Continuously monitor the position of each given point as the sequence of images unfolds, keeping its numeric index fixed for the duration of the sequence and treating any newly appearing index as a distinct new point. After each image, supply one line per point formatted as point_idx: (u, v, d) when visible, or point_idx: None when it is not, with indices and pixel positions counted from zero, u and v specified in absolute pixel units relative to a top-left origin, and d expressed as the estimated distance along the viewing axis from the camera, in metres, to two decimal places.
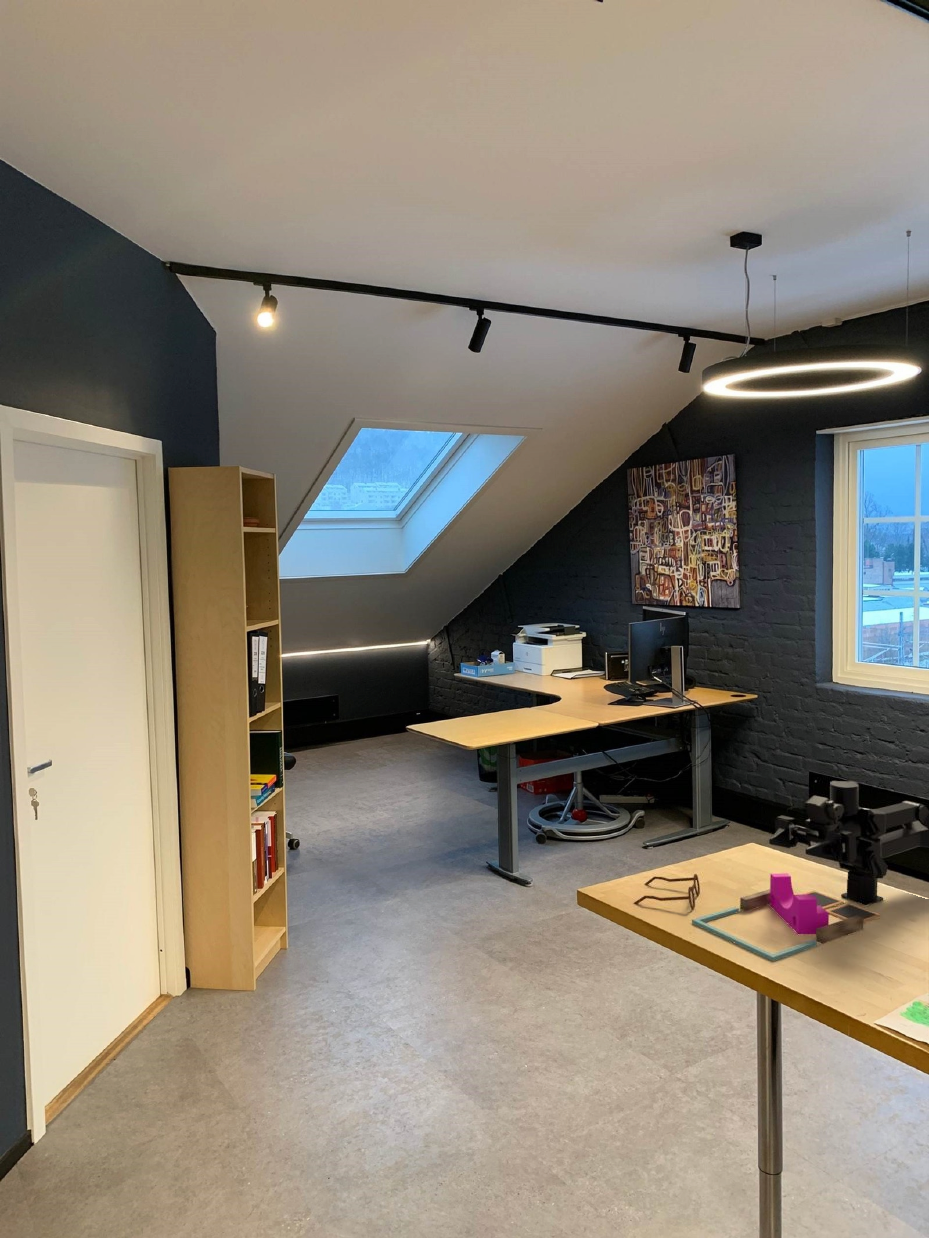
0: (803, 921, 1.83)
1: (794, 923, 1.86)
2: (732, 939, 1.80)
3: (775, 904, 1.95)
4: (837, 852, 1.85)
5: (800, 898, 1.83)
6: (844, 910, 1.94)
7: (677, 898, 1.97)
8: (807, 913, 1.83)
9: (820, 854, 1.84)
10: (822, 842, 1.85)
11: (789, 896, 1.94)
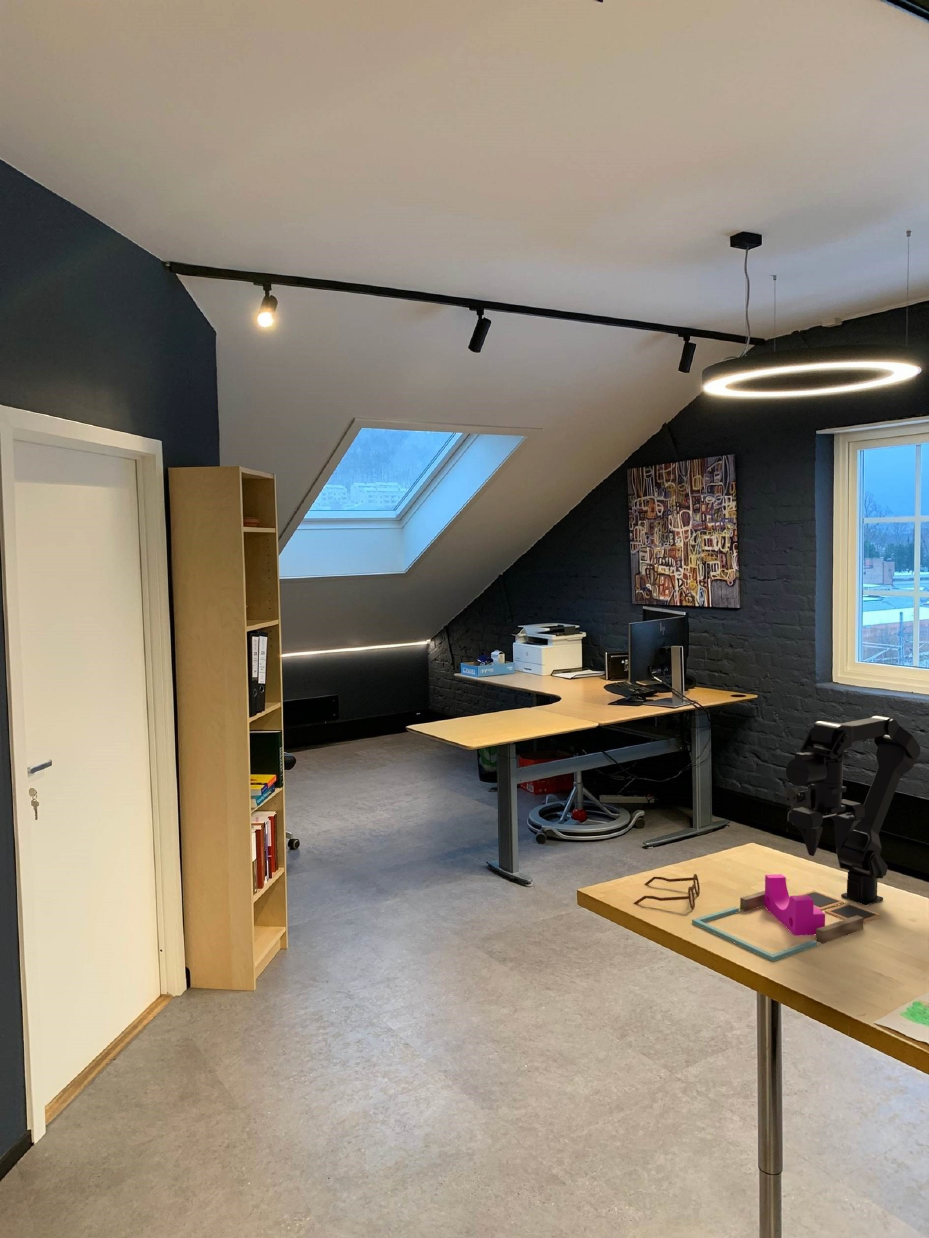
0: (799, 922, 1.83)
1: (790, 924, 1.85)
2: (732, 939, 1.80)
3: (770, 905, 1.95)
4: None
5: (797, 899, 1.83)
6: (844, 910, 1.94)
7: (677, 898, 1.97)
8: (804, 914, 1.83)
9: (812, 843, 1.90)
10: None
11: (784, 897, 1.93)
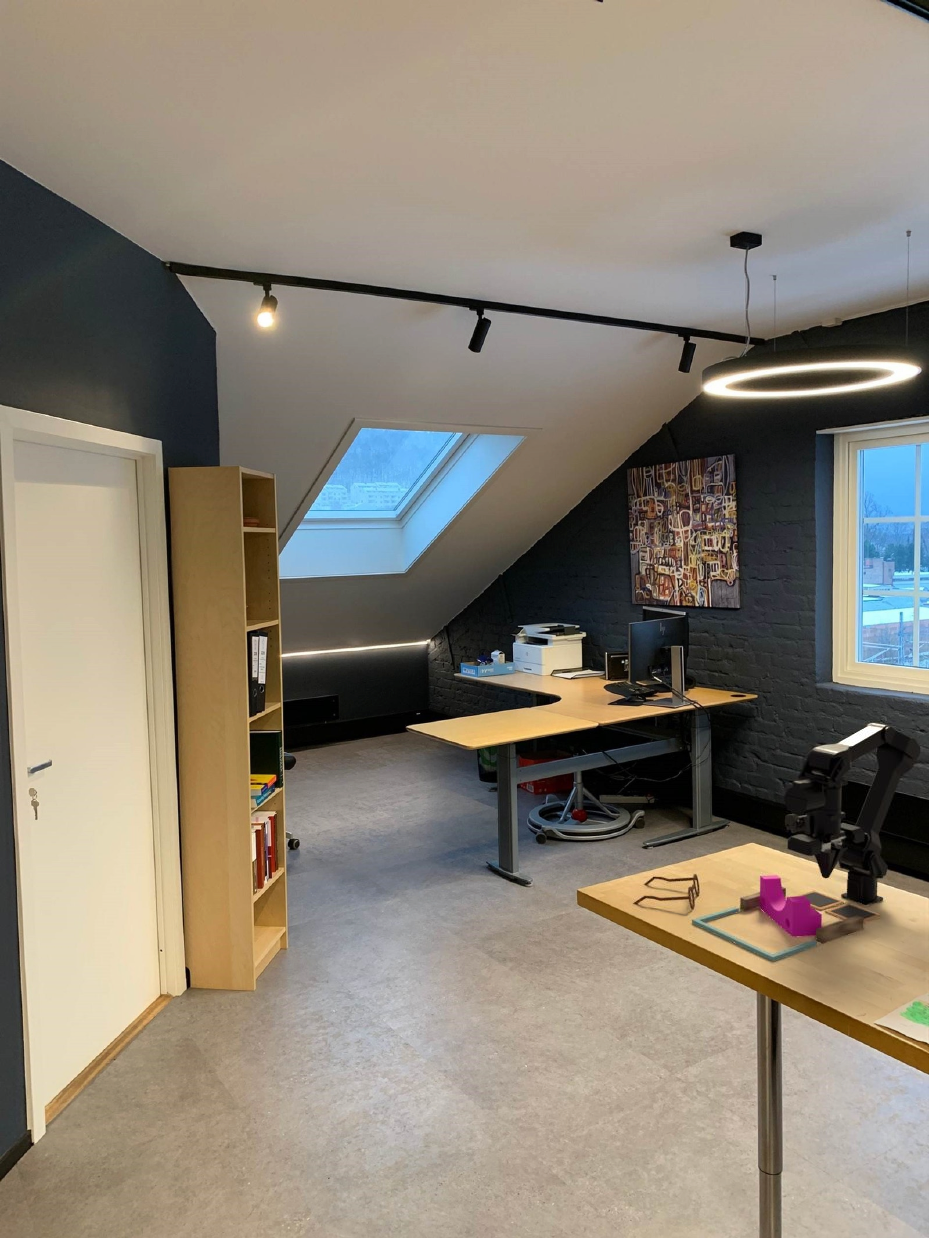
0: (796, 923, 1.82)
1: (787, 925, 1.85)
2: (732, 939, 1.80)
3: (765, 906, 1.94)
4: None
5: (793, 900, 1.82)
6: (844, 910, 1.94)
7: (677, 898, 1.97)
8: (801, 915, 1.82)
9: (825, 866, 1.93)
10: None
11: (780, 898, 1.93)
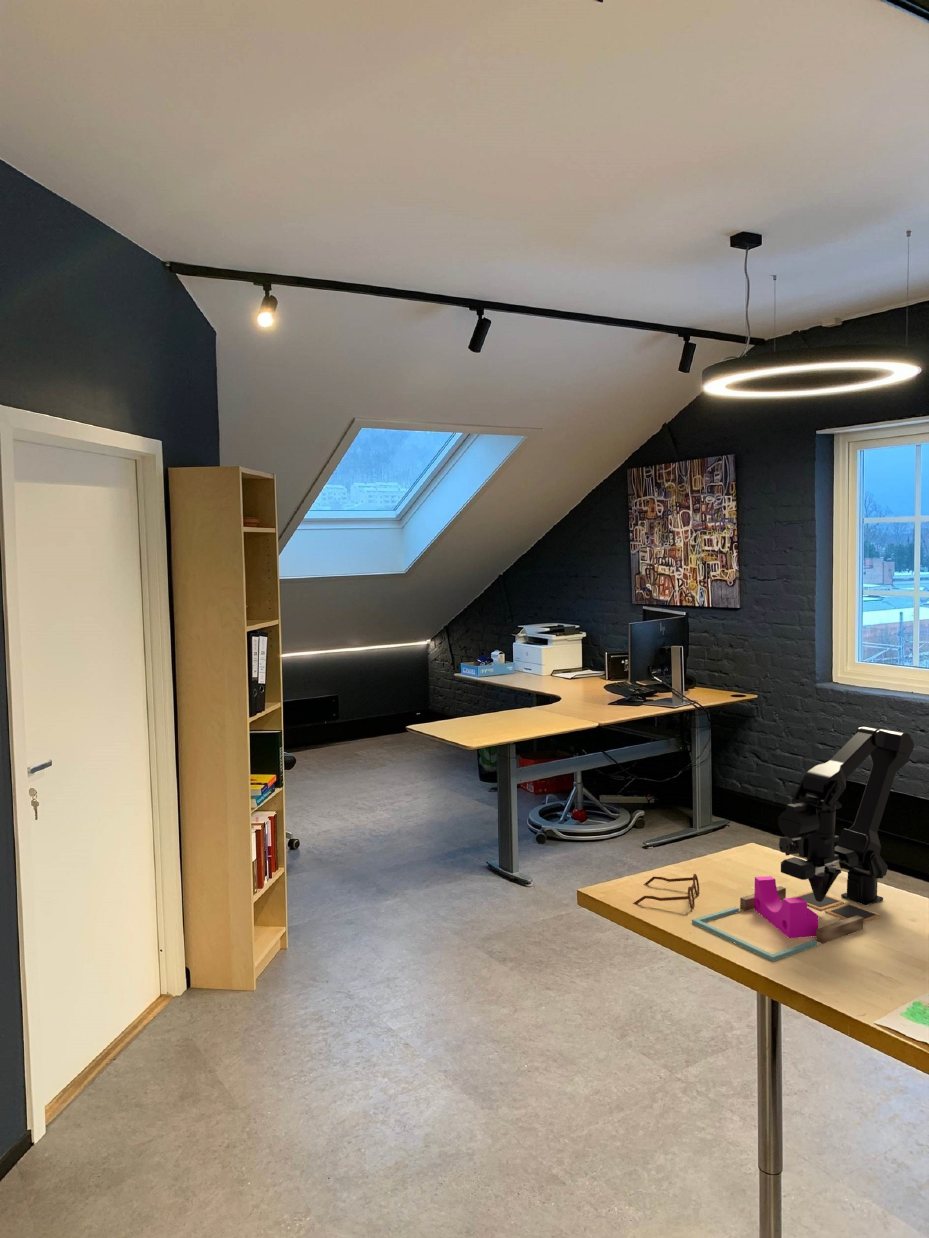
0: (793, 925, 1.81)
1: (784, 927, 1.84)
2: (732, 939, 1.80)
3: (760, 907, 1.93)
4: None
5: (791, 901, 1.82)
6: (844, 910, 1.94)
7: (677, 898, 1.97)
8: (798, 916, 1.81)
9: (819, 889, 1.92)
10: None
11: (775, 899, 1.92)
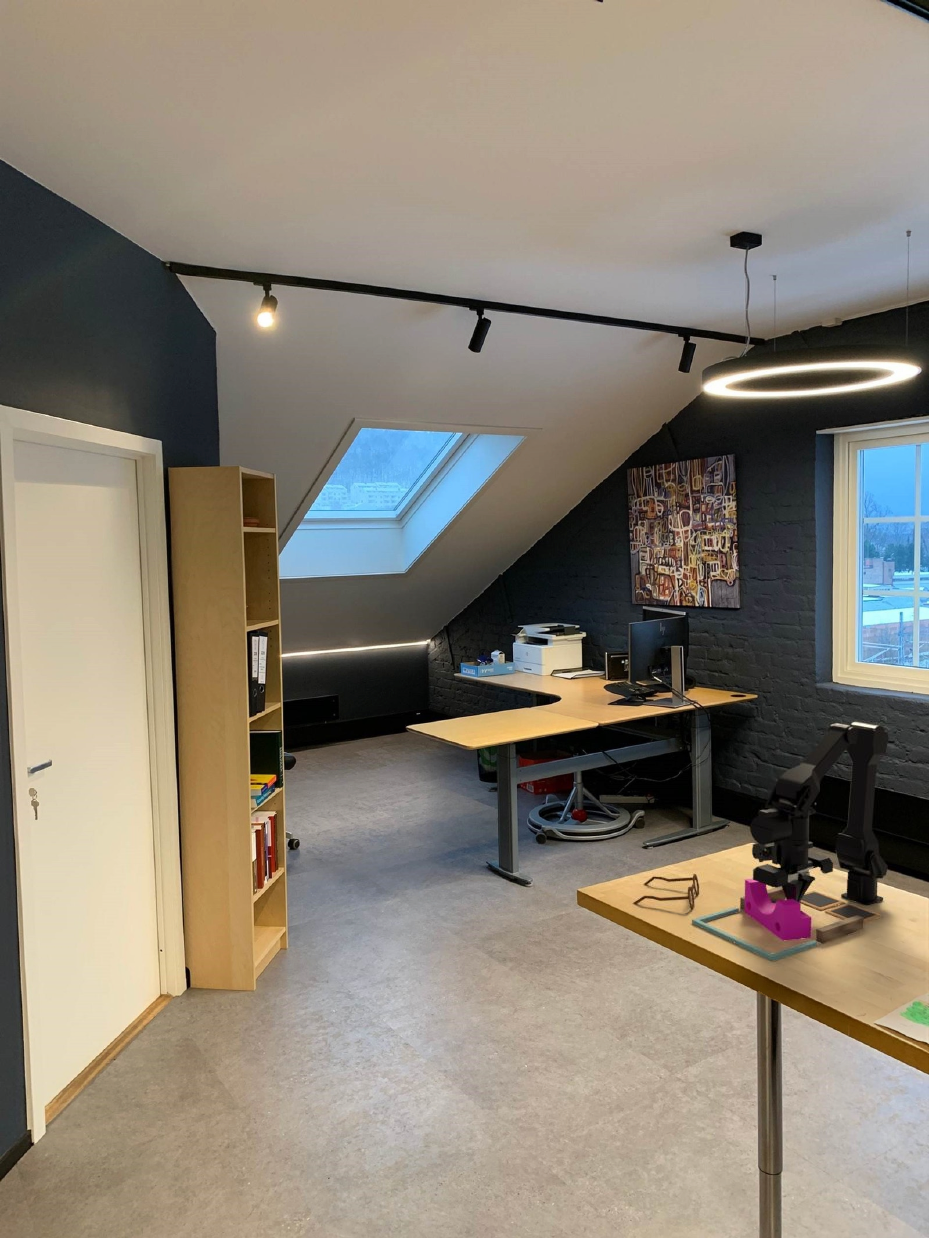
0: (787, 927, 1.80)
1: (777, 929, 1.83)
2: (732, 939, 1.80)
3: (751, 910, 1.92)
4: None
5: (784, 904, 1.80)
6: (844, 910, 1.94)
7: (677, 898, 1.97)
8: (792, 918, 1.80)
9: (792, 897, 1.88)
10: None
11: (766, 901, 1.91)
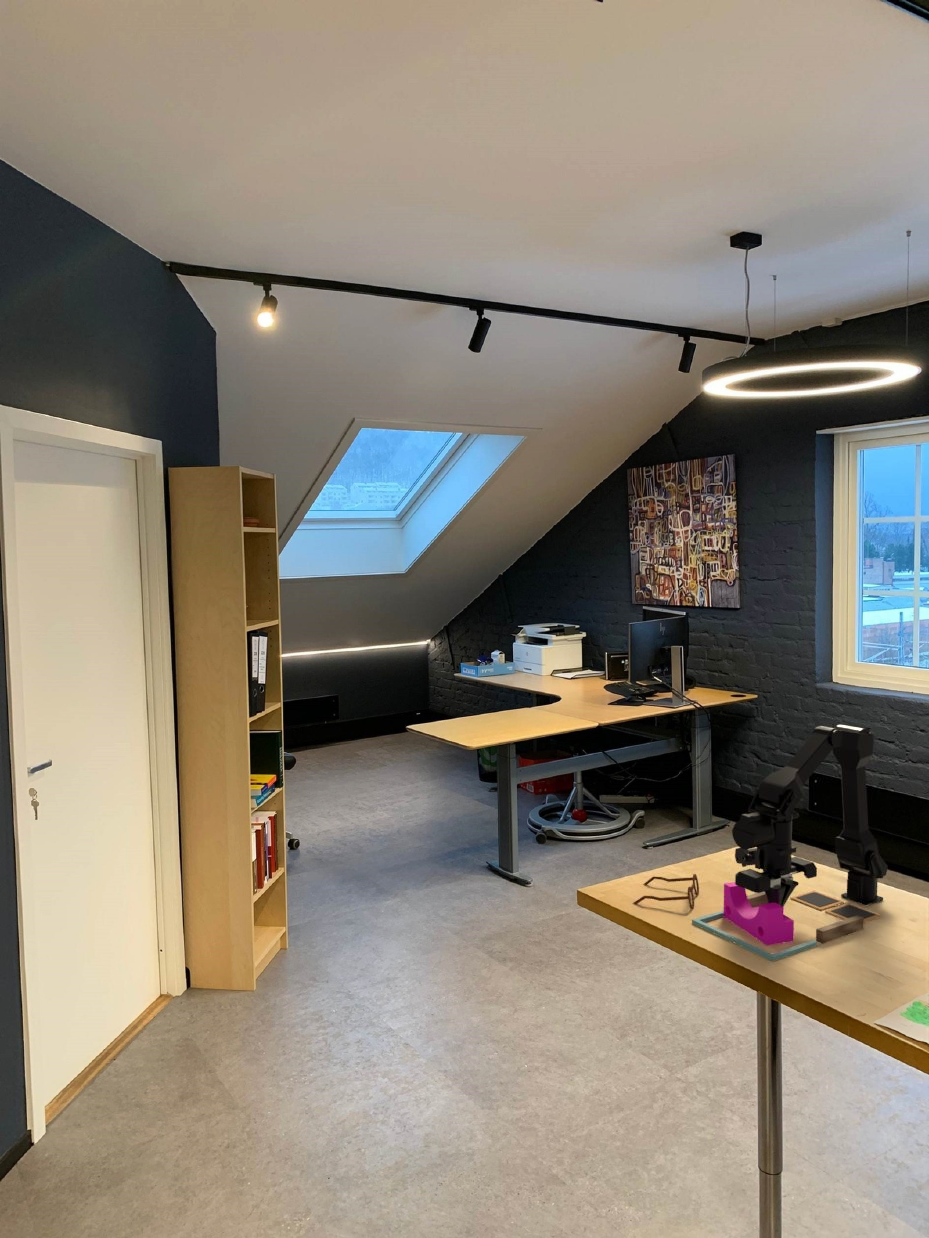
0: (771, 931, 1.78)
1: (760, 934, 1.81)
2: (732, 939, 1.80)
3: (731, 914, 1.90)
4: None
5: (768, 908, 1.78)
6: (844, 910, 1.94)
7: (676, 898, 1.97)
8: (775, 922, 1.78)
9: (775, 902, 1.85)
10: None
11: (746, 905, 1.89)
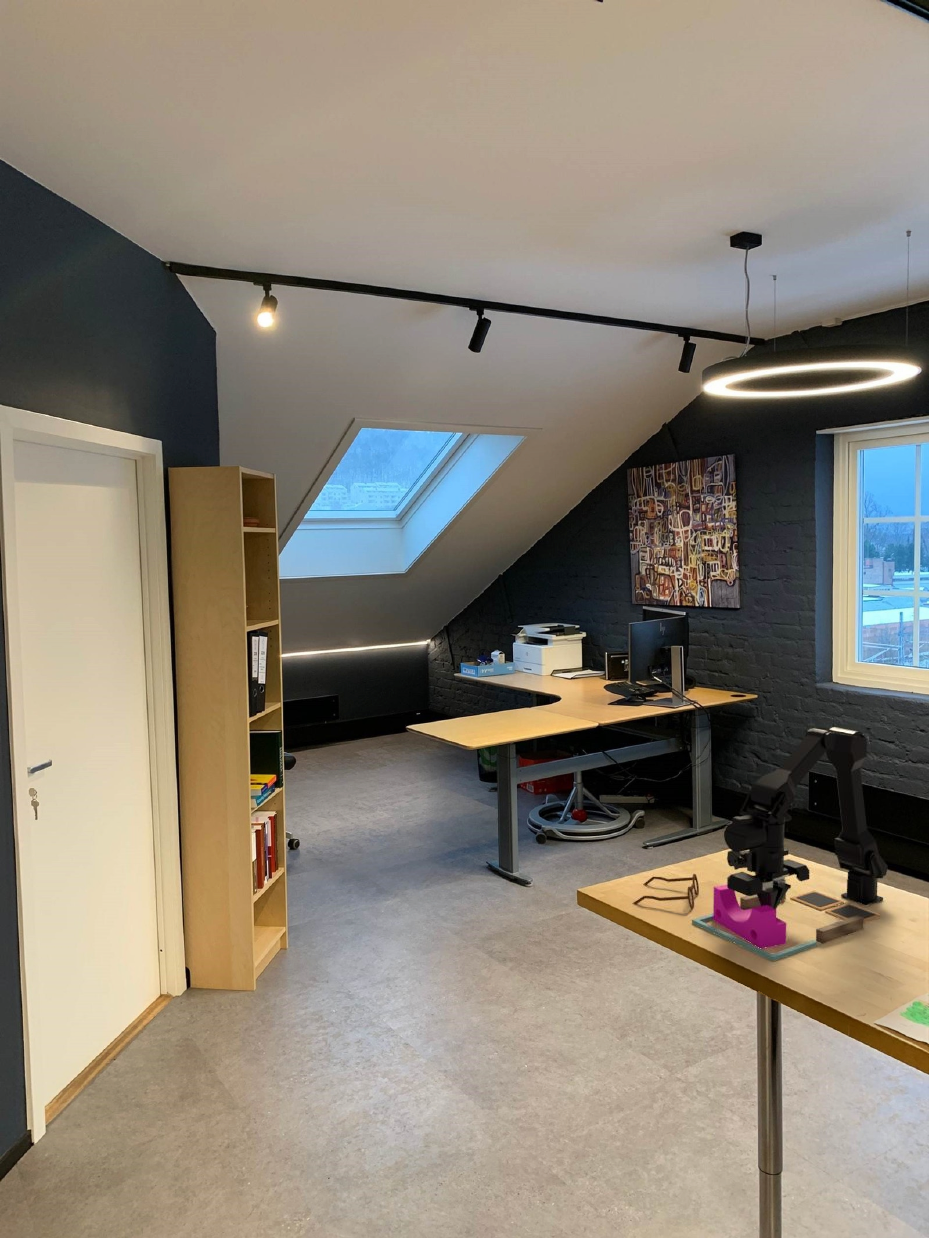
0: (764, 934, 1.77)
1: (752, 937, 1.79)
2: (732, 939, 1.80)
3: (721, 918, 1.88)
4: None
5: (761, 911, 1.77)
6: (844, 910, 1.94)
7: (676, 898, 1.97)
8: (768, 925, 1.77)
9: None
10: None
11: (736, 908, 1.88)
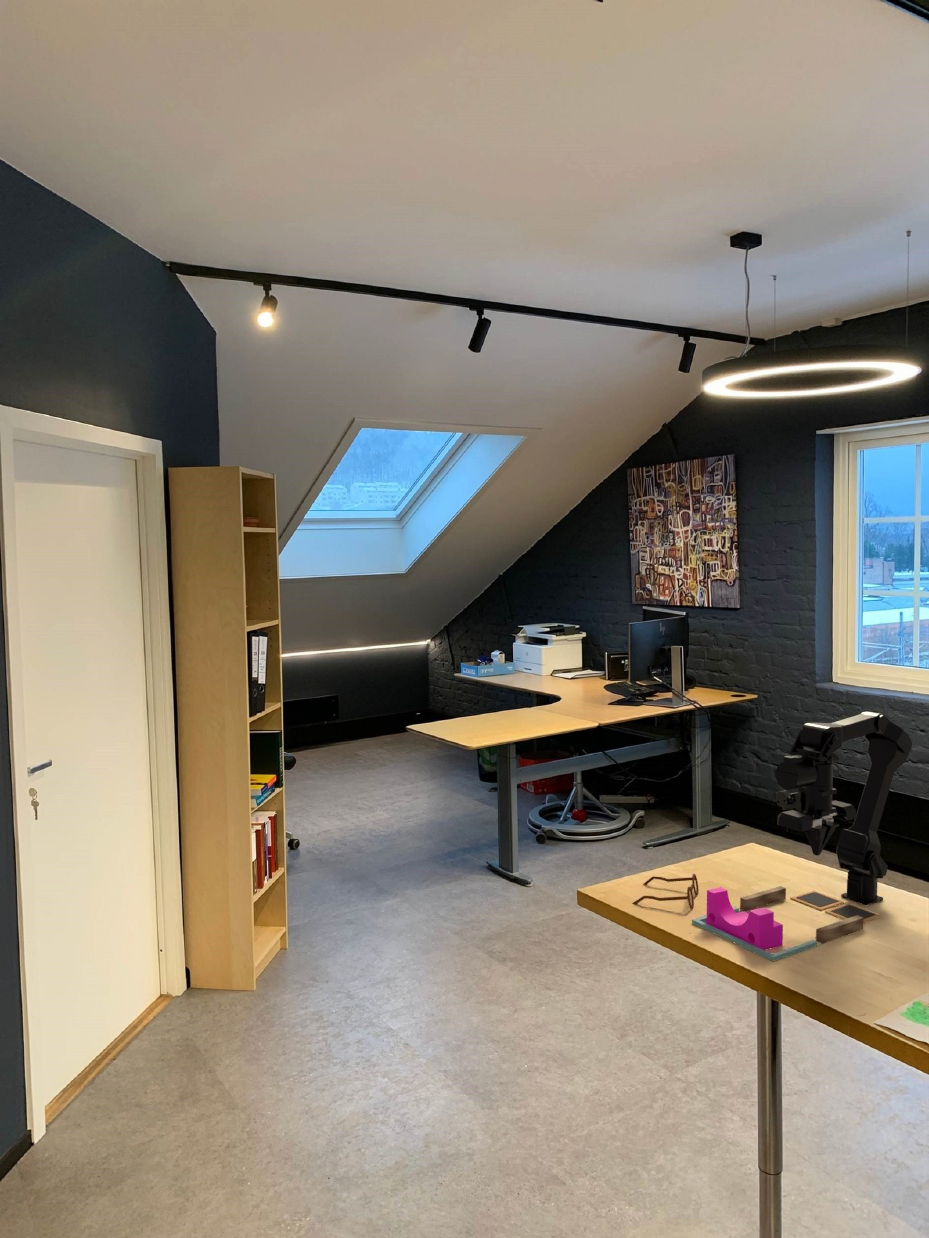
0: (762, 937, 1.76)
1: (750, 940, 1.78)
2: (732, 939, 1.80)
3: (716, 921, 1.86)
4: None
5: (759, 913, 1.76)
6: (844, 910, 1.94)
7: (676, 898, 1.97)
8: (766, 928, 1.76)
9: (816, 843, 1.91)
10: None
11: (730, 911, 1.86)
